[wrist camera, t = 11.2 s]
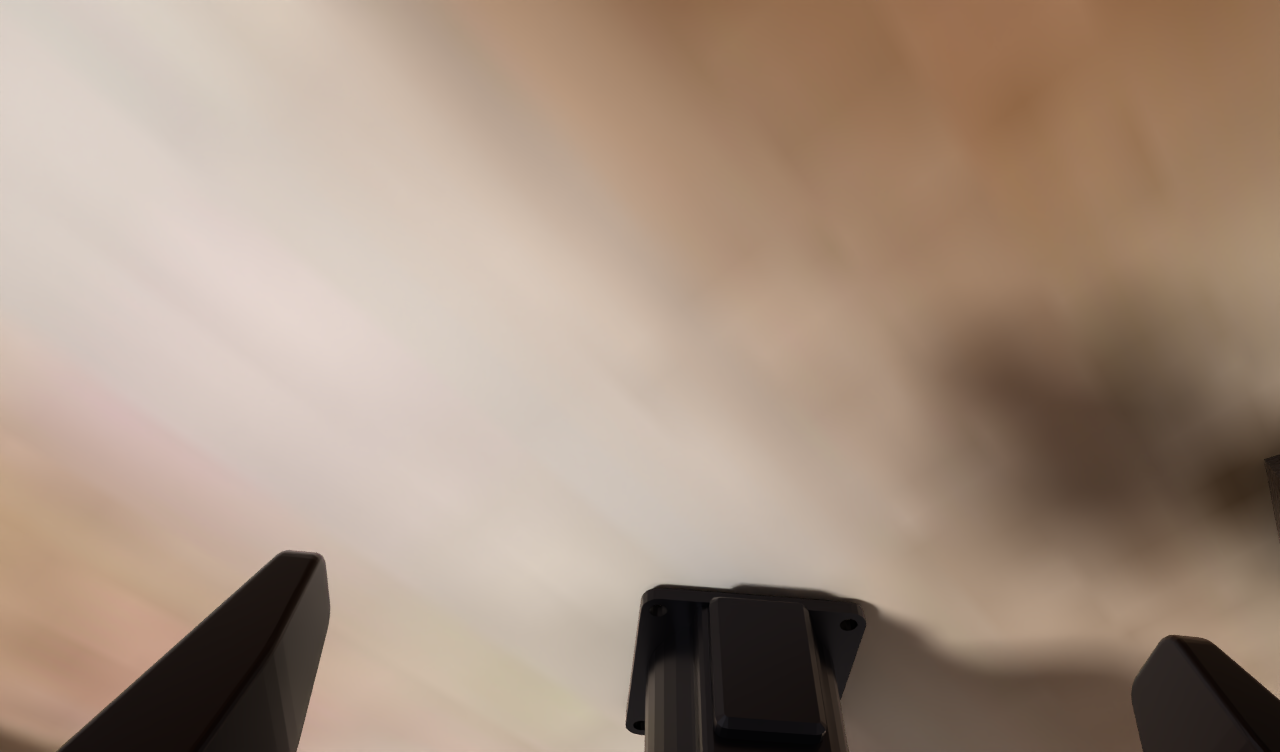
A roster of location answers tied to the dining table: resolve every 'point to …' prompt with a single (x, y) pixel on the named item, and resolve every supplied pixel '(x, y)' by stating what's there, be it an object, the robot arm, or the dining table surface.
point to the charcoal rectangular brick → (1274, 485)
